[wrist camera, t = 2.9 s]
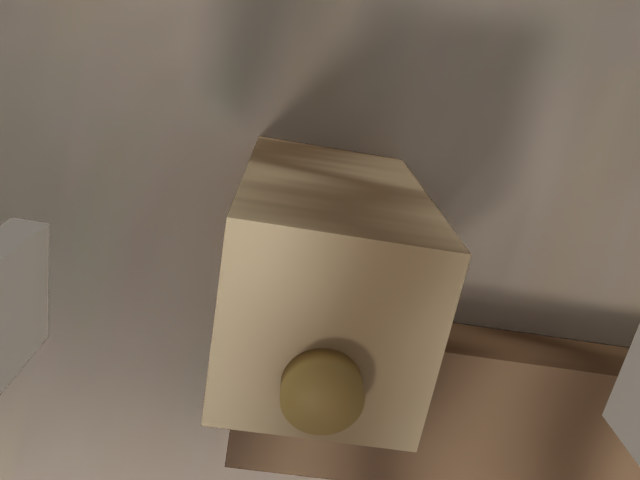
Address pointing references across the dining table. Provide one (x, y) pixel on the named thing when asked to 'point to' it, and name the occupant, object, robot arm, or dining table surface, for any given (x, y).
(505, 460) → the plank
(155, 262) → the dining table surface
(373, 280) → the cream tall block
